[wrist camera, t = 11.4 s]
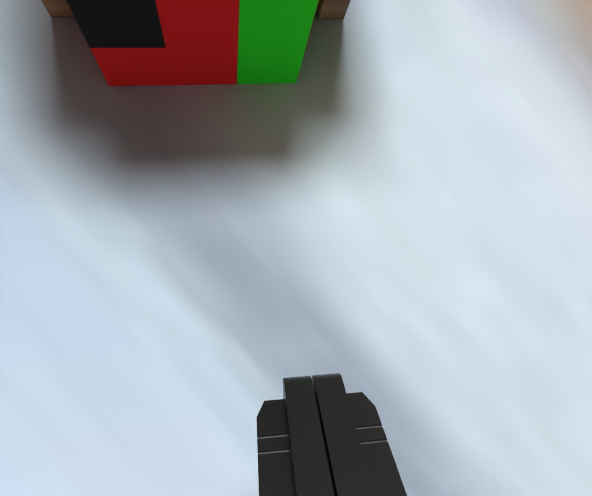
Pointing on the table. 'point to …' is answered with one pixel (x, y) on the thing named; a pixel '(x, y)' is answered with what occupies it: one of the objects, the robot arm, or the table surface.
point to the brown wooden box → (329, 7)
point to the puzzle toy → (196, 40)
